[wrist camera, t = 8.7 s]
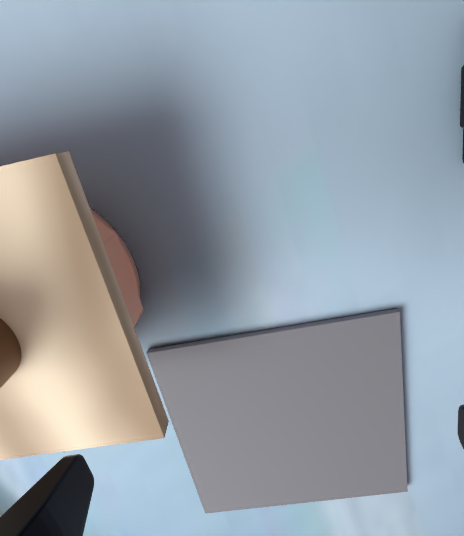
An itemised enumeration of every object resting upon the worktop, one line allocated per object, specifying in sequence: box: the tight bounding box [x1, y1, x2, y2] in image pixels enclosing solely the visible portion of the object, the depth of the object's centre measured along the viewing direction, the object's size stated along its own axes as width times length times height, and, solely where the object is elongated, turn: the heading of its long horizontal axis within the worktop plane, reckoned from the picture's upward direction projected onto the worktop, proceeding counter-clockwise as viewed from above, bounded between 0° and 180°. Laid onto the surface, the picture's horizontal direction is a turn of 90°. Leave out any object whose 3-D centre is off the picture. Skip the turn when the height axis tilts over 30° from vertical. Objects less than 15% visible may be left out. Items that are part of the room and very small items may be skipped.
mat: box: [147, 308, 408, 513], centre depth 24 cm, size 15×15×1 cm
